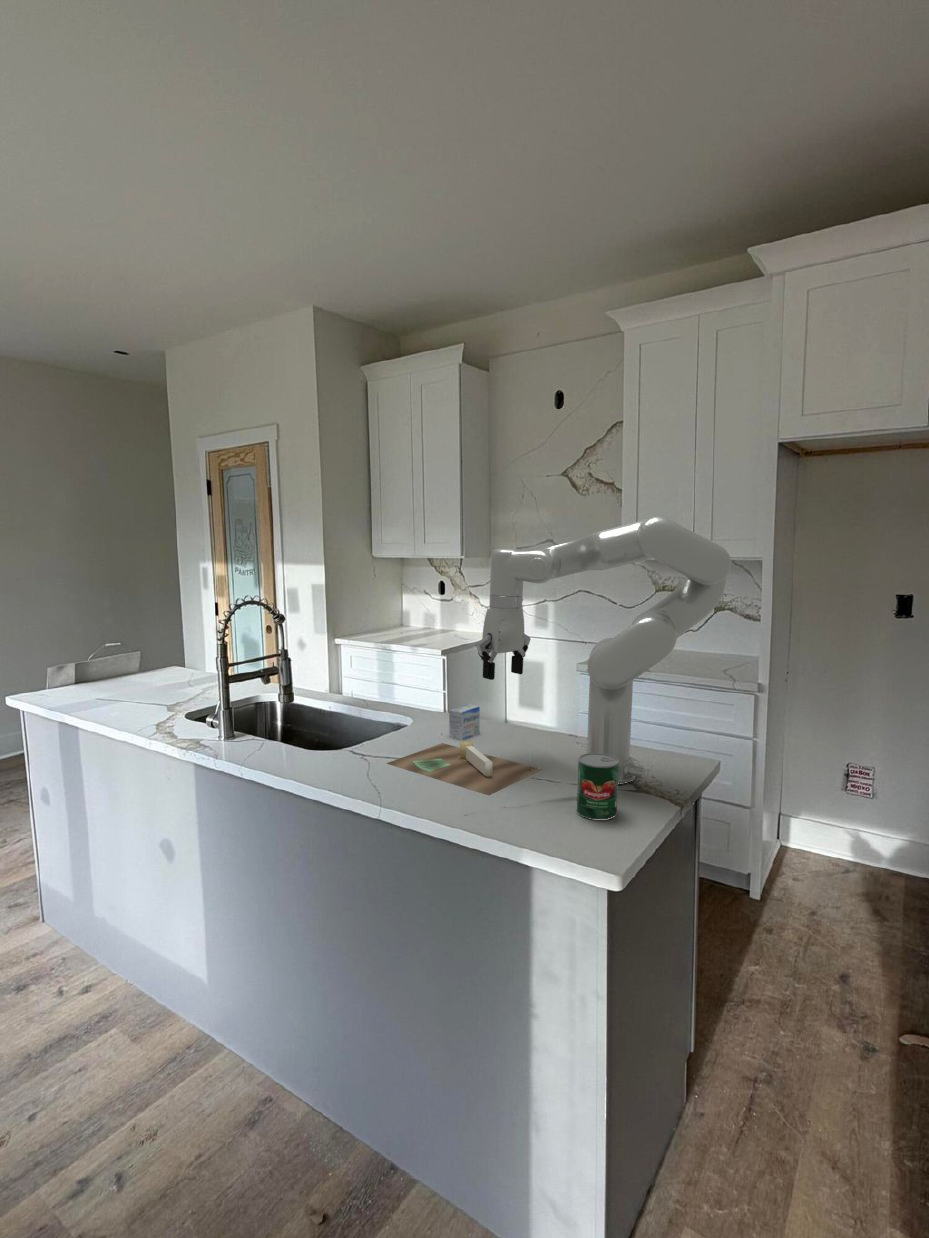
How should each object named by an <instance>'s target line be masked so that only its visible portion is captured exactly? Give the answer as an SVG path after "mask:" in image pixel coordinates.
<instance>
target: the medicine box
mask: <svg viewBox="0 0 929 1238" xmlns="http://www.w3.org/2000/svg"><path fill="white" fill-rule="evenodd" d="M480 708H481V707H480V706H478V705H474V704H465V705H461V706H459V707H456V708H453V709H450V710H449V711H448V712H449V714H448V717H449V719H448V723H449V725H448V728H449V729H448V732H449V733H448V734H449V735H448V737H449V738H451V739H455V740H459V741H465V740H466V739H470V738H471V737H474V736H476V735H479V734H480V725H481V724H480V723H481V722H480V712H481V711H480Z"/></svg>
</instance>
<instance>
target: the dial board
mask: <svg viewBox="0 0 929 1238" xmlns="http://www.w3.org/2000/svg"><path fill="white" fill-rule="evenodd" d="M482 754H483V755H484V756H485V757H487V758H488V759H489V760H490V761H492V776H491V777H487V776H485V775H484V774H483V773H482V772H480V771H479V770H478V769H477V768H476V767H475V766H474V765H472V764H471V763H470V762H469V761H468V760H467V759H464V758H461V757H460V746H454V745H450V744H447V743H444V742H442V743H438V744H436V745H433V746H431V747H427V748H425V749H422V750H420V751H417V752H414V753H411V754H408V755H405V756H403V757H400V758H398V759H397V758H396V759H395V760H392V761H389V762H386V764H387V765H391V766H393V767H397V768H400V769H403V770H406V771H409V772H413V773H416V774H419V775H423V776H425V777H428V778H431V779H435V780H438V781H441V782H445V783H448V784H450V785H453V786H454V785H455V786H458V787H461V788H464V789H467V790H469V791H470V790H471V791H474V792H476V793H477V792H478V793H480V794H483V795H485V796H491V795H492V794H495V793H496V792H499V791H501V790H503V789H505V788H508V787H509V786H512V785H513V784H514V783H517V782H520V781H521V780H523V779H525V778H528V777H531V776H532V775H533V774H535V773H537V772H540V771H542V768H538V767H534V766H530V765H527V764H526V765H525V764H523V763H519V762H515V761H511V760H509V759H505V758H502V757H501V758H500V757H496V756H492V755H488V754H484V753H482Z"/></svg>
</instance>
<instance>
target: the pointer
mask: <svg viewBox="0 0 929 1238" xmlns="http://www.w3.org/2000/svg"><path fill="white" fill-rule="evenodd" d="M459 748H460V757H461V758H464V759H467V760H468V761H469V762H470V763H471V764H472V765H474V766H475V767H476V768H477V769H478V770H479V771H480V772H482V773H483V774H484V775H485V776H487V777H491V776H492V761H490V760H489V759H488V758H487V757H485V756H484V755H483V754H484V753H482V752H481V751H479V750H478V749H477V748H476V747H474V742H473V740H460V742H459Z"/></svg>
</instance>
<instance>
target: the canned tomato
mask: <svg viewBox="0 0 929 1238" xmlns="http://www.w3.org/2000/svg"><path fill="white" fill-rule="evenodd" d="M577 760H578V767H577V769H578V770H577V772H578V773H577V790H576V791H577V794H576V795H577V797H576V798H577V799H576V813H577V812H578V813H579V814H580V815H581V816H584V817H586V818H591V819H608V818H611V817H613V816H615V815H616V813H617V814H618V812H617V810H618V790H619V785H618V771H619V760H618V759H617V758H616V757H614V756H612V755H608V754H602V753H588V754H587V753H584V754H581V755H580V756H579V757H578V759H577ZM578 813H577V814H578ZM580 815H579V816H580ZM581 816H580V817H581ZM586 818H585V819H586Z"/></svg>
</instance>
